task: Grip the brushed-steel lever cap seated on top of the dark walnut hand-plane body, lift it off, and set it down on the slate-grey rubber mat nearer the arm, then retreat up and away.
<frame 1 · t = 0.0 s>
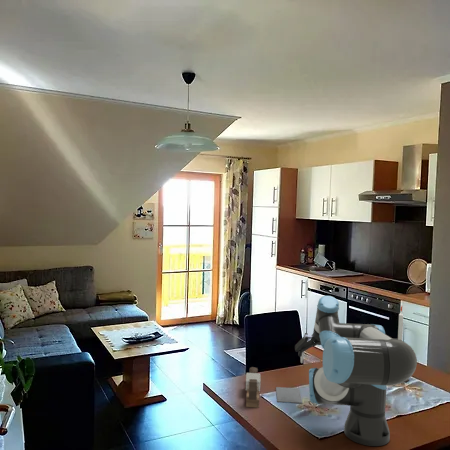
hand: (318, 361, 182), 15 cm above the table, tool tilted 35°, fingers open, 13 cm apart
plane body: (252, 393, 184), on the table
candlestick: (398, 379, 205), on the table
lever cap: (253, 386, 184), point 3 cm above the table, touching plane body
grey mat: (288, 395, 183), on the table
toy block: (359, 377, 206), on the table
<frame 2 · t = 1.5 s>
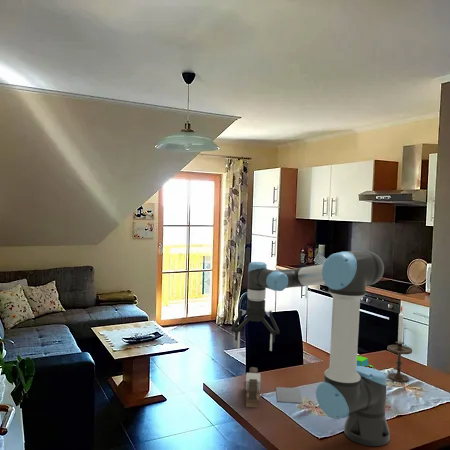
hand: (254, 349, 184), 19 cm above the table, tool pointing down, fingers open, 13 cm apart
nothing on the table moved.
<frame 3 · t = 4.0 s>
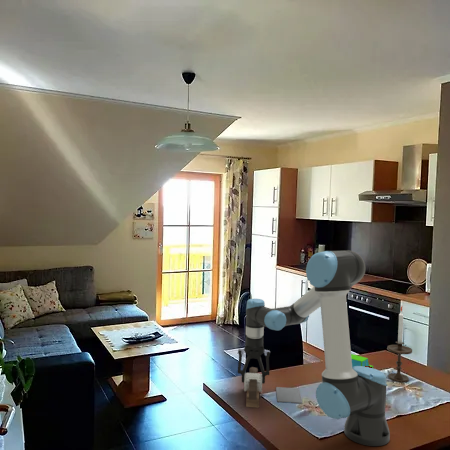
hand: (252, 390, 184), 1 cm above the table, tool pointing down, fingers closed on lever cap, 6 cm apart
lever cap: (253, 386, 184), point 3 cm above the table, touching gripper, plane body
everything else where it was.
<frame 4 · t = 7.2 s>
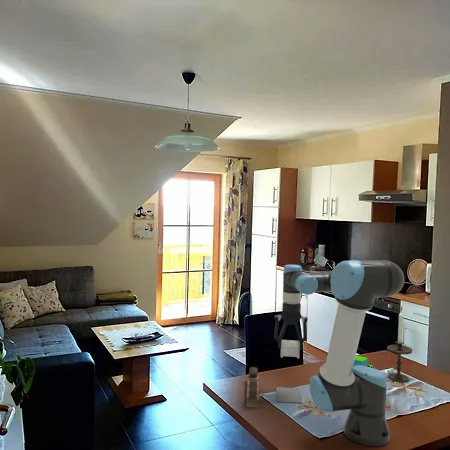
hand: (289, 356, 183), 16 cm above the table, tool pointing down, fingers closed on lever cap, 6 cm apart
lever cap: (289, 352, 183), point 18 cm above the table, touching gripper
everything else where it was.
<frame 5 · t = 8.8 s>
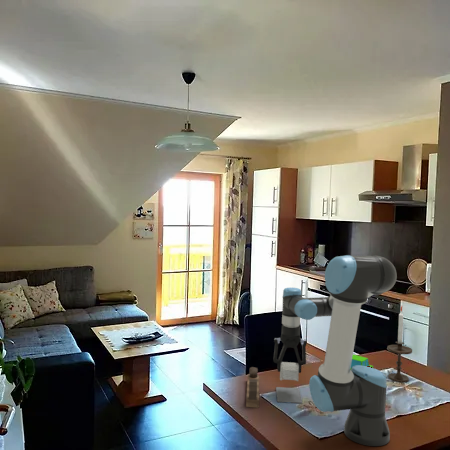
hand: (288, 379, 183), 7 cm above the table, tool pointing down, fingers closed on lever cap, 6 cm apart
lever cap: (289, 375, 183), point 8 cm above the table, touching gripper
everything else where it was.
when the fingers open (1 cm above the table, at t = 10.2 s): lever cap drops 3 cm, resting on grey mat.
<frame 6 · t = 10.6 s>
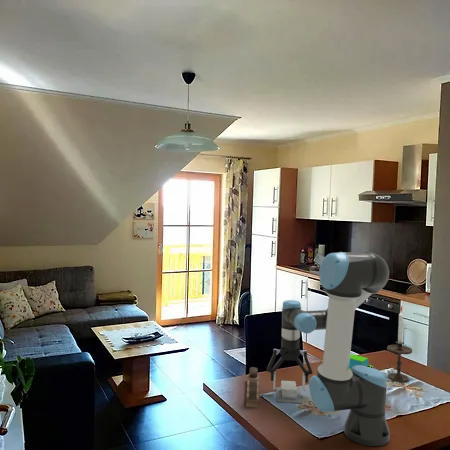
hand: (288, 389, 183), 3 cm above the table, tool pointing down, fingers open, 11 cm apart
lever cap: (288, 394, 183), resting on grey mat
everything else where it was.
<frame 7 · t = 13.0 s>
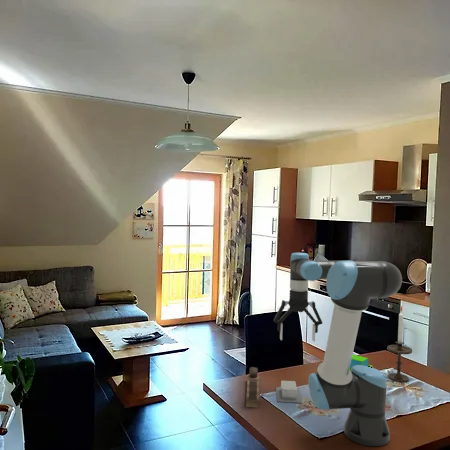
hand: (297, 339, 184), 23 cm above the table, tool pointing down, fingers open, 13 cm apart
nothing on the table moved.
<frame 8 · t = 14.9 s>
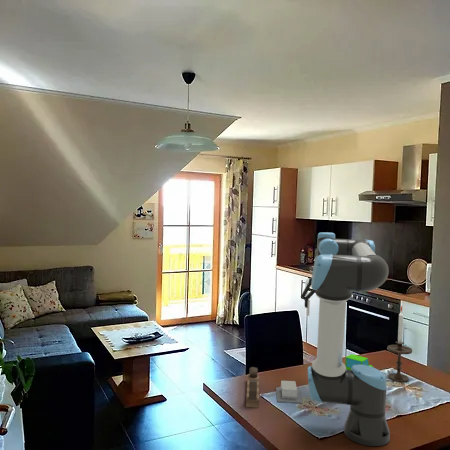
hand: (323, 315, 192), 32 cm above the table, tool pointing down, fingers open, 13 cm apart
nothing on the table moved.
at the end: lever cap inside the target area on the grey mat (0.0 cm from its centre), point 0.4 cm above the grey mat's base; lever cap tilted 0°; the gripper is holding nothing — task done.
